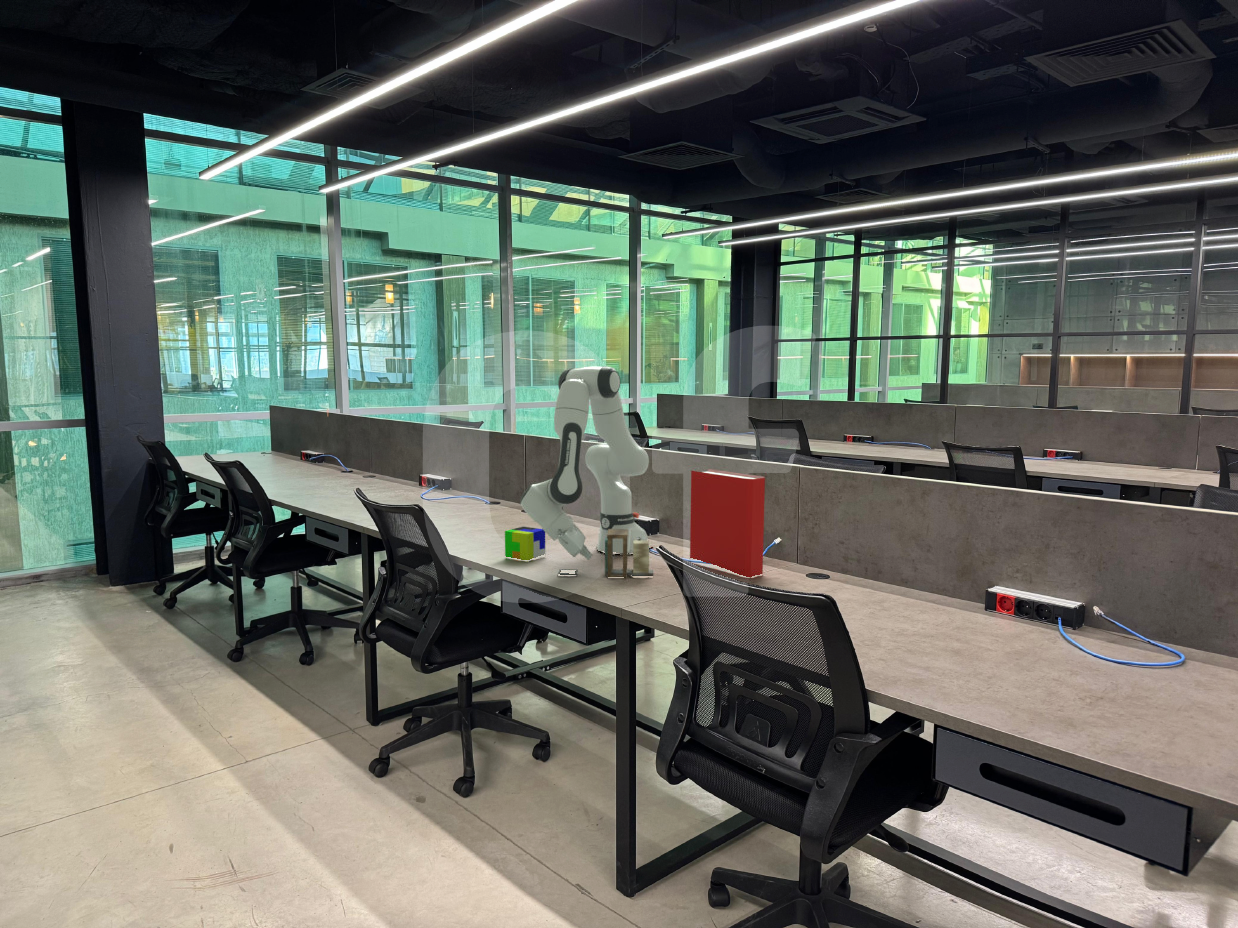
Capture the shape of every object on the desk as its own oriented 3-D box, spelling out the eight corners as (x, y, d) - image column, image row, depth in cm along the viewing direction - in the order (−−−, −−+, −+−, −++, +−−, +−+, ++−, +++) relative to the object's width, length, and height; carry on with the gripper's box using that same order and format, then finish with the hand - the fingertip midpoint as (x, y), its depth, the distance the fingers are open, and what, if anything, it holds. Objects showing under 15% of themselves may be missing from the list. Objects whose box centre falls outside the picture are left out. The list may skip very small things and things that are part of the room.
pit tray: (557, 576, 253) (557, 573, 253) (559, 572, 259) (559, 569, 259) (576, 577, 253) (576, 573, 253) (577, 572, 259) (577, 569, 259)
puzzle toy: (545, 557, 280) (545, 529, 279) (527, 562, 272) (527, 534, 271) (523, 553, 286) (522, 526, 285) (505, 559, 277) (504, 531, 276)
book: (689, 562, 273) (691, 470, 269) (706, 559, 278) (708, 468, 274) (748, 579, 251) (750, 479, 248) (765, 575, 256) (767, 477, 252)
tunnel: (606, 578, 251) (607, 534, 249) (608, 571, 260) (608, 528, 258) (627, 578, 251) (627, 534, 249) (627, 571, 260) (628, 529, 258)
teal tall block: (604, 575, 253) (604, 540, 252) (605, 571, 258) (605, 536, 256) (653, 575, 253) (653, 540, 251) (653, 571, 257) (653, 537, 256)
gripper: (564, 526, 243) (595, 558, 244) (569, 515, 264) (599, 544, 265) (549, 540, 244) (581, 572, 245) (556, 528, 264) (585, 557, 265)
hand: (590, 557), depth 255 cm, fingers closed
